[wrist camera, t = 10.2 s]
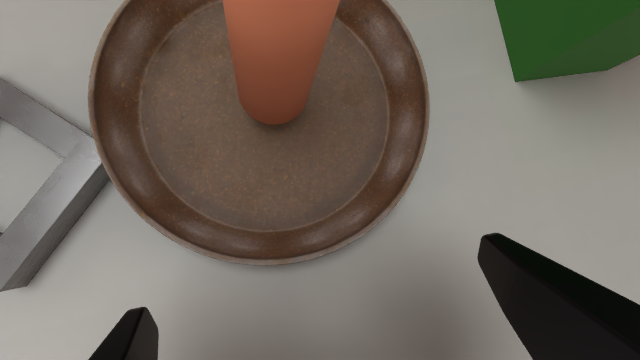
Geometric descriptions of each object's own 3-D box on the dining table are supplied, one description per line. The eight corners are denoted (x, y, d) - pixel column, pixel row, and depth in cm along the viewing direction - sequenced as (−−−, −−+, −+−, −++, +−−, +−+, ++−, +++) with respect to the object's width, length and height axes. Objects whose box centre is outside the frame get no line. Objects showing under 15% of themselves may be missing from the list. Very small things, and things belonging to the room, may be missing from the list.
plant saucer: (54, 41, 21) (20, 9, 18) (324, -63, 25) (333, -103, 22) (200, 322, 20) (190, 337, 17) (458, 171, 24) (487, 162, 21)
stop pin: (257, 153, 19) (245, -136, 4) (207, 74, 19) (28, -465, 4) (335, 107, 20) (545, -256, 5) (287, 32, 20) (357, -519, 5)
